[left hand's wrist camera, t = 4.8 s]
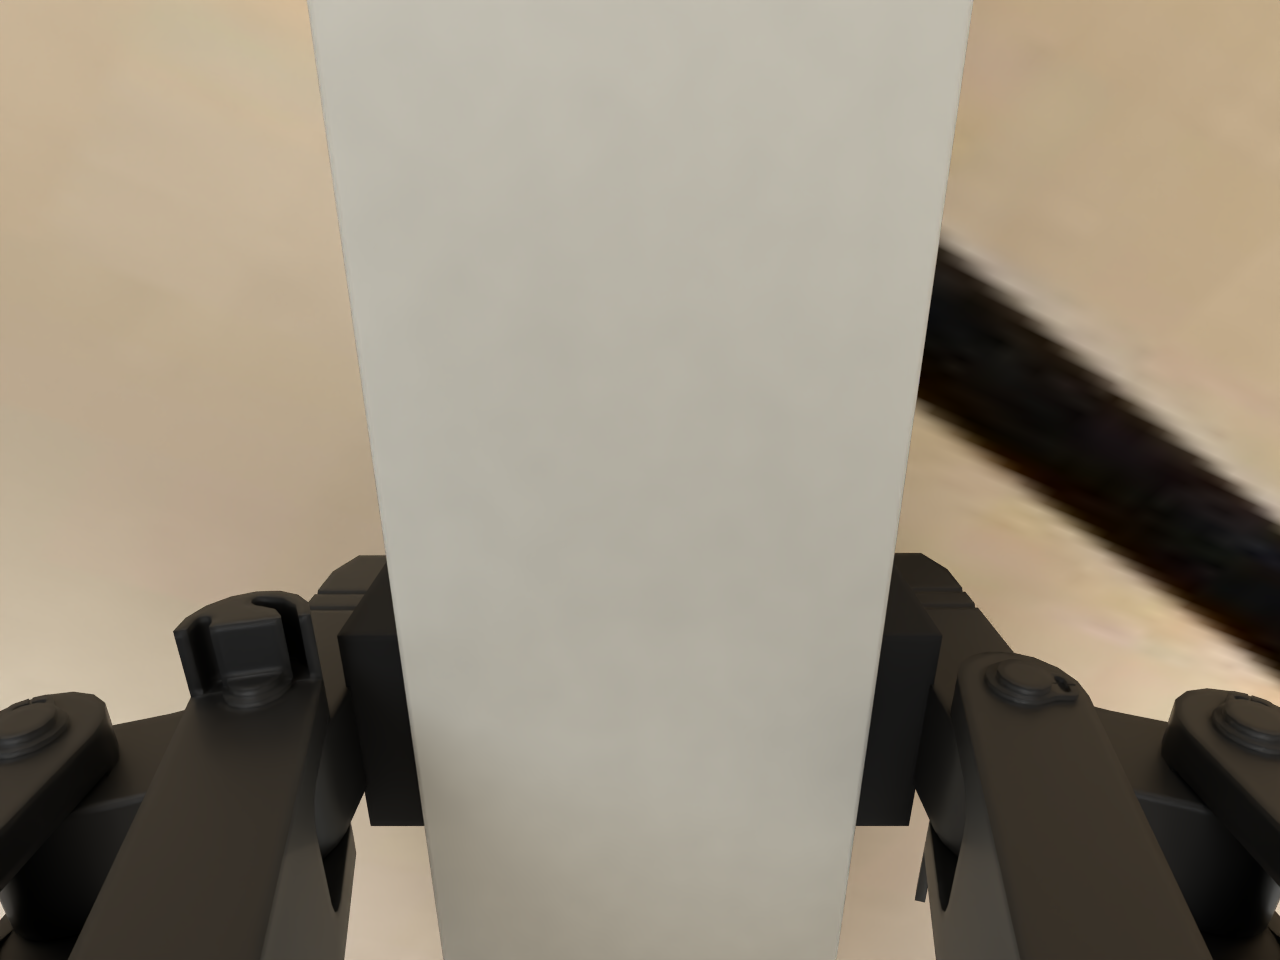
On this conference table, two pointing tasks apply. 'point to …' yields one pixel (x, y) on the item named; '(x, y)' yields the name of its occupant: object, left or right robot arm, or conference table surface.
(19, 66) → the conference table surface
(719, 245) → the bar
